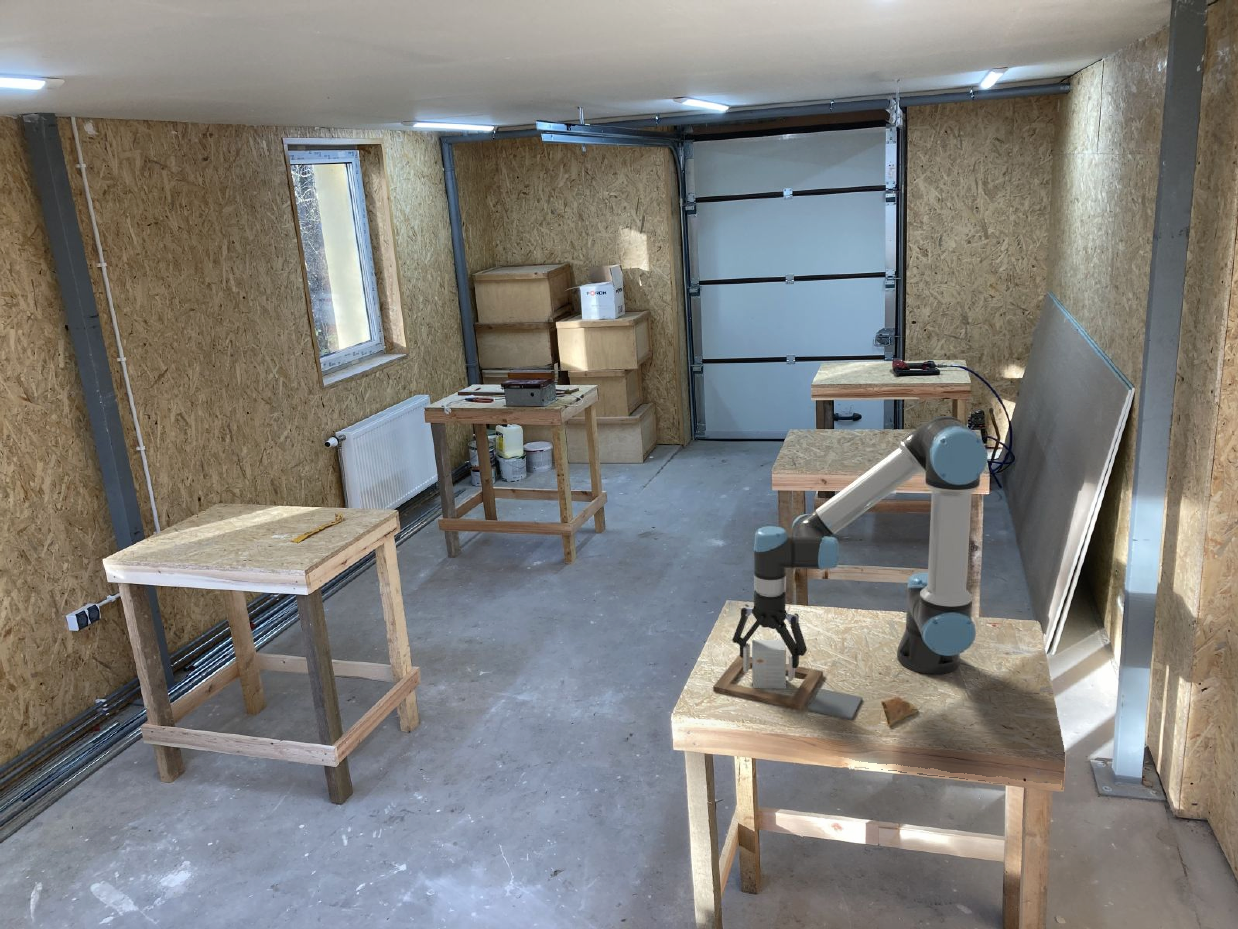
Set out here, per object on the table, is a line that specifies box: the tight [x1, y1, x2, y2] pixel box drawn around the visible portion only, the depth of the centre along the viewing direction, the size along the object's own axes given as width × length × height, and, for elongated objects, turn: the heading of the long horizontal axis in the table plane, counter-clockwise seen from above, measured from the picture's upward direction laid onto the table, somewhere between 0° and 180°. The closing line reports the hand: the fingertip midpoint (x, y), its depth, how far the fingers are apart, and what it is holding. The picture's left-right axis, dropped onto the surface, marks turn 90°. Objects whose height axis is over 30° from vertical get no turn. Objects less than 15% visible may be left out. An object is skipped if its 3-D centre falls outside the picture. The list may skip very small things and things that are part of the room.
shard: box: [880, 696, 919, 728], centre depth 217 cm, size 11×8×2 cm
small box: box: [751, 639, 787, 689], centre depth 230 cm, size 8×6×10 cm
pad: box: [808, 688, 863, 721], centre depth 221 cm, size 10×10×1 cm
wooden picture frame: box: [712, 654, 824, 711], centre depth 232 cm, size 22×18×1 cm
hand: (768, 674), depth 231 cm, fingers open, 11 cm apart
